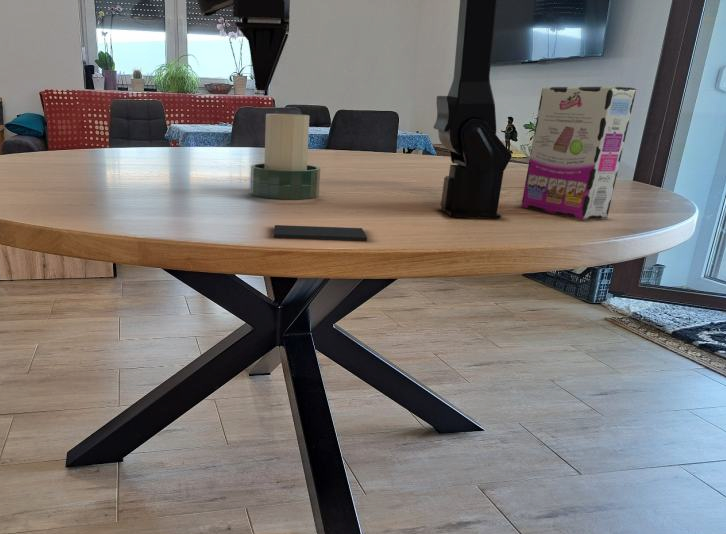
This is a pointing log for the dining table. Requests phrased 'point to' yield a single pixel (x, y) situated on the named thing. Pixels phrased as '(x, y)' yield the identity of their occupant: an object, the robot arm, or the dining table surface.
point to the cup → (286, 142)
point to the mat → (319, 233)
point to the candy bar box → (577, 150)
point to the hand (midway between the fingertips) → (262, 90)
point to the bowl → (285, 183)
